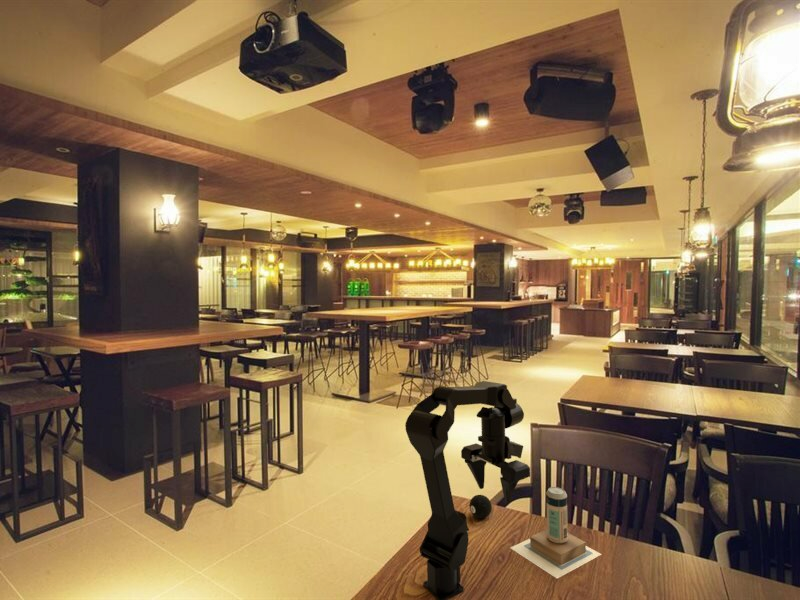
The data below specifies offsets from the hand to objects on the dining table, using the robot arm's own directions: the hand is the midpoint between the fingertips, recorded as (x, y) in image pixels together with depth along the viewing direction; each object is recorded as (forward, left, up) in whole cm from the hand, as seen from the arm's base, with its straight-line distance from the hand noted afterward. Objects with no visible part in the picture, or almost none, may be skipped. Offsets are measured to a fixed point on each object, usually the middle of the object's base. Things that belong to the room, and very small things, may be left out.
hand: (494, 495), depth 110 cm
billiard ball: (+7, +13, -13) cm, 20 cm away
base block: (+11, -10, -12) cm, 19 cm away
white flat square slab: (+10, -10, -13) cm, 19 cm away
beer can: (+11, -10, -10) cm, 18 cm away
